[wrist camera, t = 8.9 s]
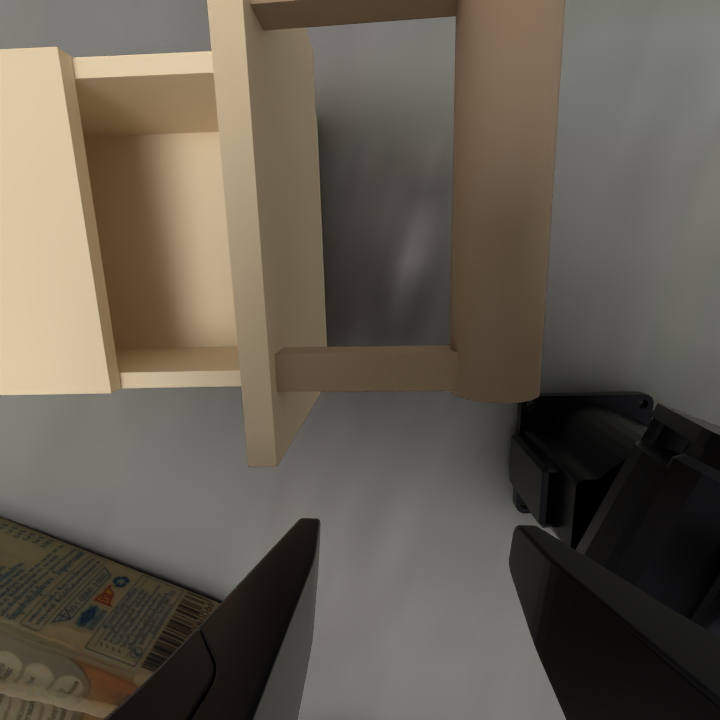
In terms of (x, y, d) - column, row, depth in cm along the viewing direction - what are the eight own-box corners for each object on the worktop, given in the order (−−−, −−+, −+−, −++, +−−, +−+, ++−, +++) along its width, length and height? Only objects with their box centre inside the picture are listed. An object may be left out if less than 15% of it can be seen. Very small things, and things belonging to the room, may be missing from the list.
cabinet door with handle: (293, 50, 13) (488, 37, 12) (311, 382, 15) (477, 381, 15) (187, -189, 6) (600, -239, 6) (247, 469, 8) (548, 472, 8)
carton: (317, 118, 19) (287, 35, 12) (327, 354, 21) (307, 389, 15) (20, 129, 19) (-159, 56, 13) (61, 359, 22) (-74, 396, 15)
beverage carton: (-62, 481, 24) (-226, 559, 17) (250, 602, 25) (208, 718, 18) (-88, 590, 25) (-246, 700, 19) (207, 699, 26) (154, 838, 20)
